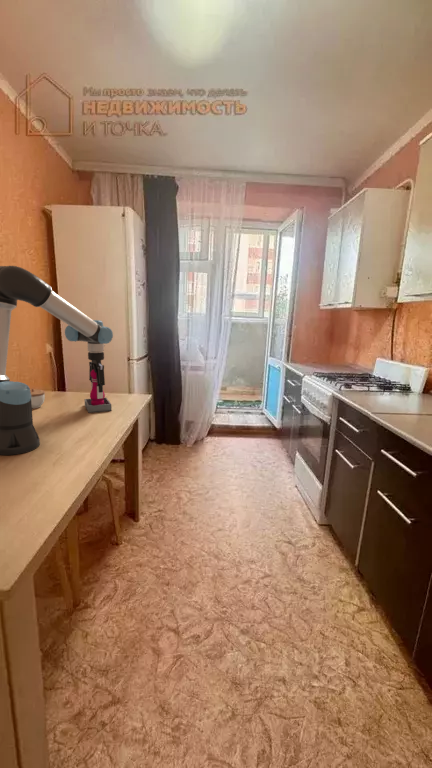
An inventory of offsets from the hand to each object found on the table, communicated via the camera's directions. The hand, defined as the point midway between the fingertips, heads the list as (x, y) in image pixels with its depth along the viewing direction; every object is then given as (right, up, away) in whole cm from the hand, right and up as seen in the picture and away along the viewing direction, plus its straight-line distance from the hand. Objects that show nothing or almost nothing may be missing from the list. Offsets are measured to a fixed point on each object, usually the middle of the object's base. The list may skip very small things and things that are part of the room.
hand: (97, 396), depth 175 cm
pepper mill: (0, -4, +1) cm, 4 cm away
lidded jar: (-32, -5, -1) cm, 32 cm away
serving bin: (0, -6, +1) cm, 6 cm away
